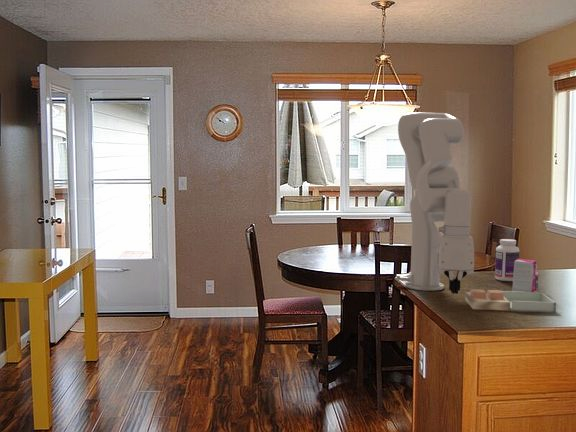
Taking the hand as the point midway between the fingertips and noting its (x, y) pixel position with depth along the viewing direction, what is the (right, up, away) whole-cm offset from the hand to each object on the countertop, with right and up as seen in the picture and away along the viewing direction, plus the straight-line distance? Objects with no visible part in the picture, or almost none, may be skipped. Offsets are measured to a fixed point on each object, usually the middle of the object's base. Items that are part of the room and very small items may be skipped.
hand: (454, 292), depth 197 cm
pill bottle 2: (+30, -2, +21) cm, 37 cm away
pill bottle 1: (+29, 0, +40) cm, 49 cm away
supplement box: (+25, -3, +13) cm, 29 cm away
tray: (+21, -4, -1) cm, 22 cm away
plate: (+10, -4, 0) cm, 10 cm away
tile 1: (+7, -1, 0) cm, 7 cm away
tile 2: (+12, -1, -1) cm, 12 cm away
